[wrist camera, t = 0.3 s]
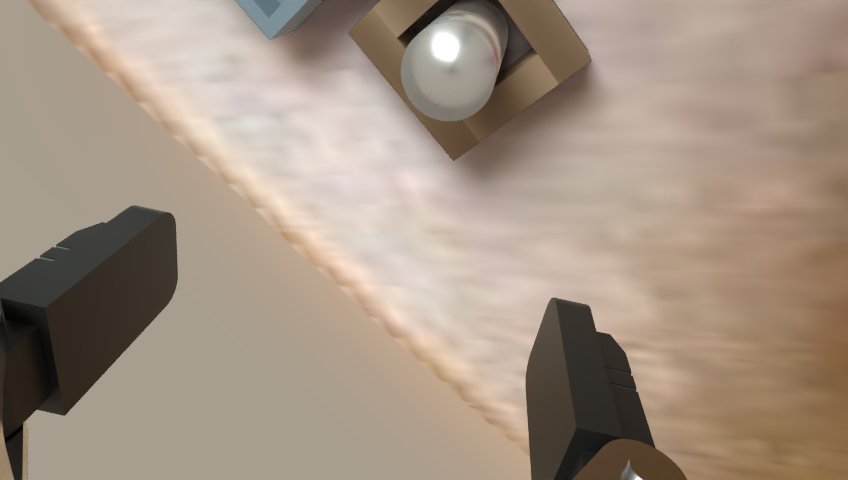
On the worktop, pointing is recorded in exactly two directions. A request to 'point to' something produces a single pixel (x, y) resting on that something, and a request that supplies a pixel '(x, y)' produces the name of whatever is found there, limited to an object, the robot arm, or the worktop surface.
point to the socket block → (514, 87)
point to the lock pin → (455, 60)
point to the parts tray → (278, 14)
